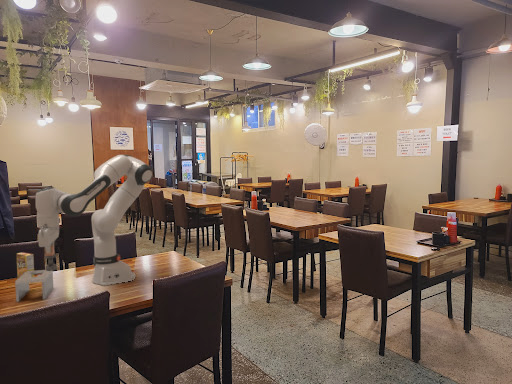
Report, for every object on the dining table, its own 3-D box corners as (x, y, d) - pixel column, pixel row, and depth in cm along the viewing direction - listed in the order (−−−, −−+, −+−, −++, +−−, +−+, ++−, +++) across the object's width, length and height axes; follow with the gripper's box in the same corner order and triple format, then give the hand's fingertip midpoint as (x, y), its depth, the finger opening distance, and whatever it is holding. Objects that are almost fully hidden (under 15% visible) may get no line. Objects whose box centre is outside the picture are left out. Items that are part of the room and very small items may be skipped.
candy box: (17, 281, 194) (15, 253, 192) (25, 278, 197) (23, 251, 196) (27, 283, 190) (26, 255, 188) (35, 281, 194) (33, 253, 192)
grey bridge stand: (53, 288, 184) (52, 269, 183) (45, 299, 169) (44, 279, 168) (27, 290, 180) (26, 271, 179) (16, 302, 166) (15, 281, 165)
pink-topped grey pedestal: (57, 267, 168) (56, 245, 167) (55, 270, 164) (53, 247, 163) (47, 268, 167) (45, 245, 166) (44, 271, 163) (42, 248, 162)
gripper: (49, 226, 154) (51, 257, 156) (61, 218, 174) (62, 245, 175) (33, 227, 152) (35, 258, 154) (46, 219, 172) (48, 246, 173)
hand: (50, 251), depth 165 cm, fingers closed on pink-topped grey pedestal, 3 cm apart
